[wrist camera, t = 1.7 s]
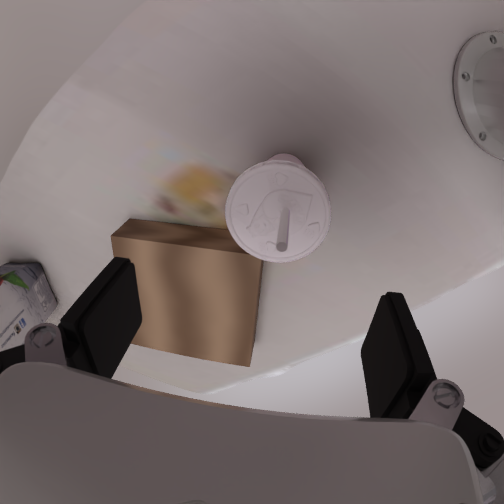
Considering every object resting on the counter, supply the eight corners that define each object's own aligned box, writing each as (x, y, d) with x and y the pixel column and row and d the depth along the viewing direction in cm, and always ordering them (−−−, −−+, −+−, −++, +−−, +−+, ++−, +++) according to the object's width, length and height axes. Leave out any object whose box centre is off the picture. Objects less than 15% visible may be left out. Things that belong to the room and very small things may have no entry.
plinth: (266, 234, 30) (261, 256, 27) (254, 341, 37) (249, 367, 34) (129, 218, 31) (110, 235, 28) (143, 321, 38) (131, 343, 35)
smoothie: (335, 185, 27) (364, 271, 15) (274, 221, 29) (255, 324, 17) (294, 123, 25) (291, 157, 13) (232, 164, 27) (178, 233, 15)
